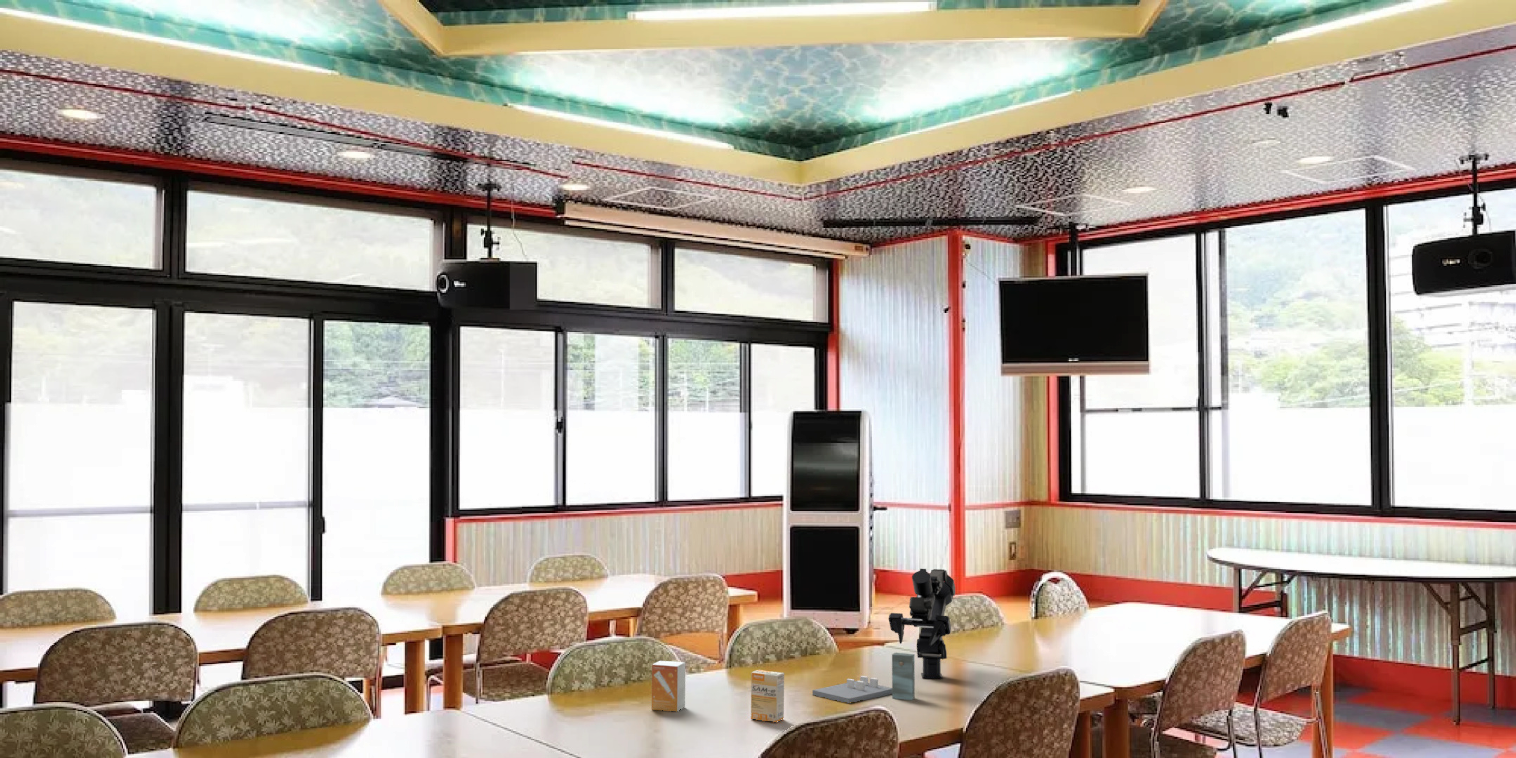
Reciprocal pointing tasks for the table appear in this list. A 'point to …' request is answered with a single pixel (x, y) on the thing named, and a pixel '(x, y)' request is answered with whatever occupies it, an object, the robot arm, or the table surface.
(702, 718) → the table surface
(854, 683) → the base plate
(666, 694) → the small box
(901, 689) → the tall streaky grey pillar
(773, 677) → the supplement box
